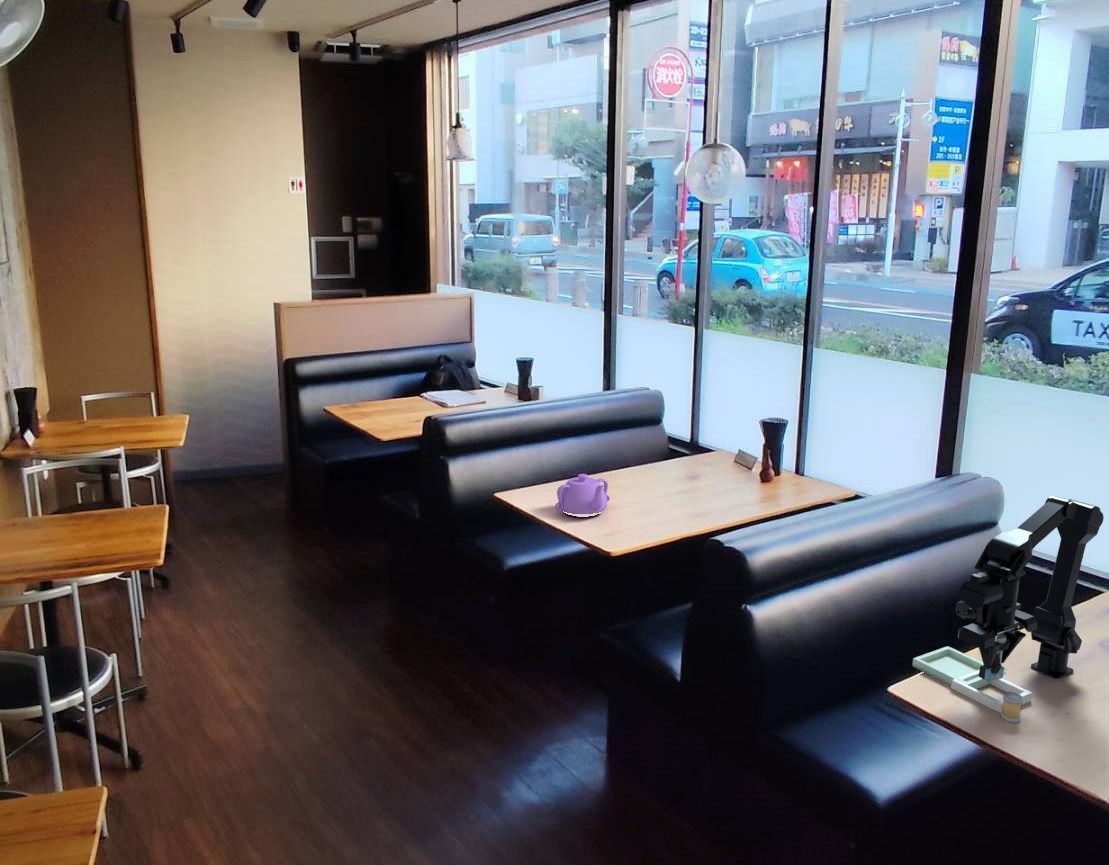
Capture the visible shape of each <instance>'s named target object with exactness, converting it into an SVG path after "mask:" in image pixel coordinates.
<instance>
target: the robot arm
mask: <svg viewBox="0 0 1109 865" xmlns="http://www.w3.org/2000/svg"><path fill="white" fill-rule="evenodd" d="M1104 519H1105V518H1104V513H1103V512H1102V510H1101V508H1100V507H1099V506H1096V505H1093V504H1090V503H1086V502H1081V501H1078V500H1075V499H1071V498H1070V499H1067V498H1063V497H1059V496H1056V495H1053V496H1049V497H1047V499H1046V501H1045V502H1044V504H1043V505H1041V507H1039V508H1038V509H1037V510H1036V511H1035V512H1034V513H1032V514H1031V515H1030V516H1029V517H1028V518H1027V519H1025V520H1024V521H1023V522H1022V523H1021V524H1020V525H1019V526H1017V527H1016V528H1015V529H1013V530H1008V531H1002V532H1001V533H999V534H998V535H995V536H994V537H993V538H992V539H990V540H989V541H988V542H987V543H986V545H985V547H984V549H983V551H982V553H981V555H980V557H979V558H978V560H977V562H976V564H975V565H974V569H975V570H977V571H980V572H978V573H972V574H970V577H969V578H970V579H968V580H967V579H966V580H965V581H963V583H961V586H960V587H959V595H960V596H959V597H960V598H961V600H960V601H957V603H956V607H955V612H956V615H957V616H958V617H961V619H962V620H966V619H976V622H977V623H980V624H984V625H983V626H981V625H979V624H975V623H970V624H968V625H965V626H961V627H960V628H958V633H957V638H958V640H961V641H963V642H965V643H968V644H969V645H971V646H973V647H976V648H978V649H979V653H980V656H981V660H982V661H981V662H983V664H984V667H985V668H988V669H989V668H990V667H991V665H992V663H993V661H994V659H995V657H996V655H997V653H998V651H999V649H1000V647H1001V643H998V642H996V640H997V637H998V634H1000V633H1003V634H1005V635H1006V638H1008V639H1009V640H1010V645H1009V647H1008V649H1007V650H1005V651H1003V653H1002V660H1001V663H1002V664H1004V663H1005V662H1006V660H1008V658H1009V656H1010V655H1011V654H1012V652H1014V650H1015V649H1016V647H1017V646H1018V645H1019V644H1020V643H1021V642H1022V640H1023V639H1024V638H1026V637H1027V634H1026V633H1025V632H1023V631H1021V628H1020V626H1022V625H1023V626H1024V630H1025V631H1026V632H1028V633H1030V635H1031V636H1030V637H1031V640H1032V641H1035V642H1038V643H1040V645H1039V652H1038V657H1037V662H1034V663H1031V664H1030V668H1033V669H1035V670H1036V671H1039V672H1041V673H1044V674H1045V675H1048V676H1050V677H1052V678H1055V679H1060V678H1062V677H1064V676H1067V675H1070V674H1072V673H1074V671H1075V670H1074V669H1073V668H1072V667H1069V666H1068V664H1069V657H1070V655H1071V654H1074V655H1076V654H1078V651H1079V650H1080V649H1081V646H1082V643H1083V640H1082V638H1081V637H1080V635H1079V634H1078V633H1077V631H1076V626H1077V625H1076V623H1077V618H1076V616H1075V613H1074V611H1073V608H1072V604H1073V599H1074V595H1075V591H1076V586H1077V584H1078V583H1077V582H1078V579H1079V575H1080V570H1081V567H1082V562H1083V559H1084V555H1085V550H1086V547H1087V544H1088V543H1089V542H1090V541H1091V540H1093V539H1094V538H1095V537H1096V536H1097V535H1098V533H1099V531H1100V527H1101V526H1102V524H1103V522H1104ZM1055 529H1057V531H1058V534H1059V536H1060V542H1059V546H1058V551H1057V554H1056V559H1055V563H1054V567H1053V570H1052V575H1051V580H1050V582H1049V588H1048V591H1047V596H1046V600H1045V601H1044V602H1043V603H1042V604H1040V606H1035V607H1034V609H1033V612H1032V614H1029V613H1027V612H1024V611H1021V606H1022V604H1021V603H1019V602H1018V594H1019V585H1020V577H1023V576H1025V575H1026V571H1025V569H1024V568H1025V567H1026V566H1027V565H1028V563H1029V562H1030V561H1031V560H1032V558H1033V551H1034V548H1035V547H1036V546H1037V545H1039V543H1041V541H1043V540H1044V539H1045V538H1046V537H1048V535H1050V534H1051V533H1052V532H1053V531H1054V530H1055ZM989 563H990V564H989ZM993 564H994V565H993ZM995 565H997V566H1000V567H997V566H995ZM1019 609H1020V610H1019Z"/></svg>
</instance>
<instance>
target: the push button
mask: <svg viewBox="0 0 1109 865" xmlns="http://www.w3.org/2000/svg"><path fill="white" fill-rule="evenodd" d="M996 642H998V643H1001V647H1000V649H999V651H998V653H997V655H996V657H995V659H994V661H993V663H992V665H991V667H990V668H989V669H988V668H985V667H984V665H982V666H980V670H979V677H980V678H982V679H984V680H985V681H991V680H995V681H997V680H999V679H1001V678H1002V679H1004V678H1003V677H1004V675H1006V674H1007V672H1006V671H1007V670H1008V668H1007V667H1004V666H1003V663H1001V660H1002V653H1003V651H1005V650H1007V649H1008V647H1009V645H1010V640H1009V639H1008V638H1006V635H1005V634H1003V633H1000V634H998V637H997V640H996Z"/></svg>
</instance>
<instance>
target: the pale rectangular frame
mask: <svg viewBox="0 0 1109 865" xmlns="http://www.w3.org/2000/svg"><path fill="white" fill-rule="evenodd" d="M977 677H979V670H977V671H975V672H972V673H969V674H967V675H964V676H961V677H959V678H960V679H962V680H964V681H966V682H967V681H969V680H972V679H974V678H977ZM989 685H991V686H993V687H995V688H997V689H999V690H1001V691H1004V693H1005V692H1014V693H1017V694H1019V695H1021V696H1022V697H1023V702H1022V703H1021V707H1022V706H1023V705H1025V704H1027V703H1029V702H1032V697H1033V696H1032V695H1033V692H1032V691H1030V690H1028V689H1025V688H1023V687H1021V686H1018V685H1016V684H1014V683H1012V682H1010V681H1009V680H1006V679H1004V678H1001V679H999V680H997V681H995V680H991V681H990V684H989ZM950 687H951V688H950V689H952V690H954V691H955V692H957V693H960V694H962V695H964V696H965V697H967V698H970V699H972V700H973V701H976V702H977V703H980V704H982V705H983V706H985V707H987V708H989V709H991V710H994V711H995V712H997V713H999V714H1001V712H1002V710H1003V701H1004V700H999V699H997V698H995V697H992V696H991V695H989V694H987V693H984V692H983V691H981V690H978V689H975V688H973V687H971V686H969V685H967V684H964V683H962V682H960V681H958V680H956V679H954V680H952V686H951V685H950Z"/></svg>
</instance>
